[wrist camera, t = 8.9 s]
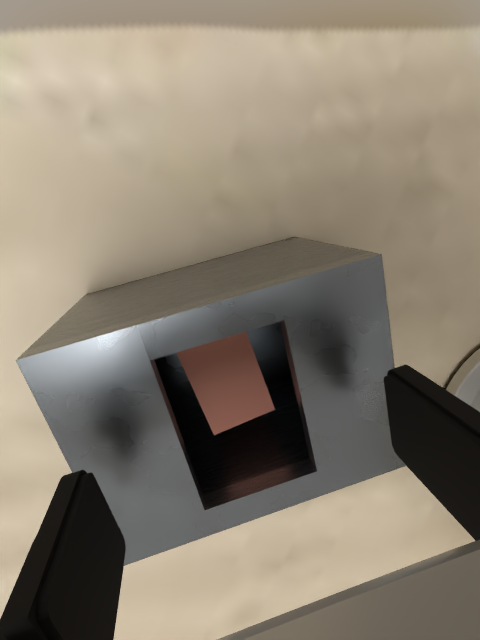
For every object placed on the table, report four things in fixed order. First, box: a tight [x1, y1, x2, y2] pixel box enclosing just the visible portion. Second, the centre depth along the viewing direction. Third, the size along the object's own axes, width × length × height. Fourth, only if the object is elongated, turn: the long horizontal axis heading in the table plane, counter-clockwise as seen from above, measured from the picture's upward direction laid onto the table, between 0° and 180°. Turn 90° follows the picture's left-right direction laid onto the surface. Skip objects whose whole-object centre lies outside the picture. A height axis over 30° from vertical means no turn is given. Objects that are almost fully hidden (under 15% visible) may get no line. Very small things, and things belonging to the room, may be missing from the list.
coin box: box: [16, 237, 406, 566], centre depth 17 cm, size 12×9×9 cm
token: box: [177, 332, 275, 435], centre depth 18 cm, size 3×4×6 cm, turn 19°
